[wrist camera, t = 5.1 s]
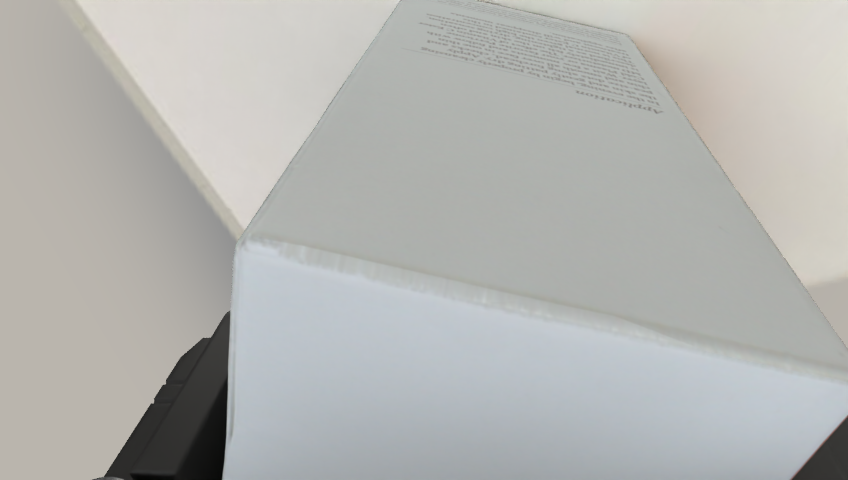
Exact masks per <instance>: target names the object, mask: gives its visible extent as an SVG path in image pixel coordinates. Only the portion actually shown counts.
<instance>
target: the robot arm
mask: <svg viewBox="0 0 848 480" xmlns="http://www.w3.org/2000/svg"><path fill="white" fill-rule="evenodd" d="M229 338H230V311H229V312H227V313H226V314H225V316H224V317H223V319H222V320H221V322H220V324H219V325H218V327H217V329H216V330H215V332H214V334H213V336H212V337H211V338H203V339H201V340H200V341H199V342H198V343H197V344H196V345H195V346H193V347H192V348H191V349H190V350H189V351H188V352H187V353H185V354H184V355H183V356H182V357H181V358H180V360H179V361H178V362H177V364H176V366H175V367H174V369H173V370H172V372H171V374H170V375H169V377H168V378H167V380H166V385H163V386H162V387H161V389H160V390H159V392H158V394H157V395H156V397H155V398H154V404H151V405H150V406H149V408H148V410H147V411H146V412H145V414H144V416H143V417H142V418H141V420H140V422H139V423H138V425H137V426H136V428H135V430H134V431H133V433H132V434H131V436H130V437H129V439H128V440H127V442H126V443H125V445H124V447H123V448H122V450H121V451H120V453H119V454H118V456H117V457H116V459H115V460H114V462H113V464H112V465H111V467H110V468H109V470H108V471H107V473H106V474H105V476H104V477H102V478H97V479H93V480H222V476H223V468H224V459H225V447H226V434H227V433H226V427H227V400H228V359H229ZM792 480H848V417H847V418H846V419H845V420H844V421H843V422H842V424H841V425H840V426H839V427H838V428H837V429H836V430H835V431H834V432H833V434H832V435H831V436H830V437H829V438H828V439H827V440H826V441H825V442H824V444H823V445H822V446H821V447H820V448H819V449H818V450H817V452H816V453H815V454H814V455H813V456H812V457H811V458H810V459H809V461H808V462H807V463H806V464H805V465H804V466H803V467H802V469H801V470H800V471H799V472H798V473H797V474H796V475H795V477H794V478H793V479H792Z"/></svg>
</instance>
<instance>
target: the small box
mask: <svg viewBox="0 0 848 480" xmlns="http://www.w3.org/2000/svg"><path fill="white" fill-rule="evenodd" d="M232 277H233V278H232V292H231V310H230V338H229V359H228V400H227V427H226V433H227V434H226V447H225V459H224V468H223V476H222V480H792V479H793V478H794V477H795V475H796V474H797V473H798V472H799V471H800V470H801V469H802V467H803V466H804V465H805V464H806V463H807V462H808V461H809V459H810V458H811V457H812V456H813V455H814V454H815V453H816V452H817V450H818V449H819V448H820V447H821V446H822V445H823V444H824V442H825V441H826V440H827V439H828V438H829V437H830V436H831V435H832V434H833V432H834V431H835V430H836V429H837V428H838V427H839V426H840V425H841V424H842V422H843V421H844V420H845V419H846V418H847V417H848V349H847V347H846V346H845V344H844V343H843V341H841V339H840V337H839V336H838V335H837V333H836V332H835V331H834V329H833V328H832V326H831V325H830V323H829V322H828V321H827V319H826V318H825V316H824V315H823V313H822V312H821V310H820V309H819V307H818V306H817V304H816V303H815V302H814V300H813V299H812V297H811V296H810V294H809V293H808V291H807V290H806V288H805V287H804V286H803V284H802V283H801V281H800V280H799V278H798V277H797V275H796V274H795V272H794V271H793V270H792V268H791V267H790V265H789V264H788V262H787V261H786V259H785V258H784V257H783V255H782V254H781V252H780V251H779V249H778V248H777V246H776V245H775V244H774V242H773V241H772V239H771V238H770V236H769V235H768V233H767V232H766V231H765V229H764V228H763V226H762V225H761V223H760V222H759V221H758V219H757V218H756V216H755V215H754V213H753V212H752V211H751V209H750V208H749V207H748V205H747V204H746V203H745V201H744V200H743V198H742V197H741V195H740V193H739V192H738V191H737V190H736V189H735V187H734V186H733V184H732V183H731V181H730V180H729V178H728V177H727V175H726V174H725V172H724V171H723V169H722V168H721V166H720V165H719V164H718V162H717V161H716V159H715V158H714V156H713V155H712V154H711V152H710V151H709V149H708V148H707V146H706V145H705V144H704V142H703V141H702V139H701V138H700V137H699V135H698V134H697V132H696V131H695V129H694V128H693V127H692V125H691V123H690V122H689V120H688V119H687V118H686V116H685V115H684V113H683V112H682V110H681V109H680V107H679V106H678V104H677V103H676V102H675V101H674V99H673V98H672V96H671V94H670V93H669V91H668V90H667V89H666V87H665V86H664V84H663V83H662V82H661V80H660V79H659V77H658V76H657V75H656V73H655V72H654V71H653V69H652V68H651V66H650V65H649V63H648V62H647V60H646V59H645V58H644V56H643V55H642V53H641V52H640V51H639V49H638V48H637V46H636V45H635V43H634V42H633V40H632V39H631V38H630V37H629V36H628V35H625V34H621V33H616V32H612V31H607V30H603V29H599V28H594V27H590V26H586V25H581V24H577V23H573V22H568V21H564V20H560V19H555V18H551V17H547V16H542V15H538V14H534V13H529V12H525V11H521V10H516V9H512V8H508V7H503V6H499V5H494V4H490V3H486V2H482V1H478V0H400V2H399V3H398V5H397V6H396V8H395V9H394V11H393V12H392V14H391V15H390V17H389V18H388V20H387V21H386V23H385V24H384V26H383V27H382V29H381V30H380V31H379V33H378V34H377V36H376V37H375V39H374V40H373V42H372V43H371V44H370V46H369V47H368V49H367V50H366V52H365V53H364V55H363V56H362V58H361V59H360V60H359V62H358V63H357V65H356V66H355V68H354V69H353V71H352V72H351V74H350V75H349V77H348V78H347V80H346V81H345V83H344V84H343V85H342V87H341V88H340V90H339V91H338V93H337V94H336V96H335V97H334V99H333V100H332V102H331V103H330V105H329V106H328V108H327V109H326V111H325V112H324V114H323V115H322V117H321V119H320V120H319V122H318V123H317V125H316V126H315V128H314V129H313V131H312V132H311V134H310V135H309V137H308V138H307V139H306V141H305V142H304V144H303V145H302V146H301V148H300V149H299V151H298V152H297V153H296V155H295V156H294V158H293V159H292V161H291V162H290V164H289V165H288V167H287V168H286V170H285V171H284V173H283V174H282V176H281V177H280V179H279V180H278V182H277V183H276V185H275V186H274V188H273V189H272V191H271V192H270V194H269V195H268V197H267V198H266V200H265V201H264V203H263V204H262V206H261V207H260V209H259V210H258V212H257V213H256V215H255V216H254V218H253V219H252V221H251V222H250V224H249V225H248V227H247V228H246V229H245V231H244V232H243V234H242V235H241V237H240V238H239V240H238V241H237V243H236V248H235V252H234V257H233V276H232Z"/></svg>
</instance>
